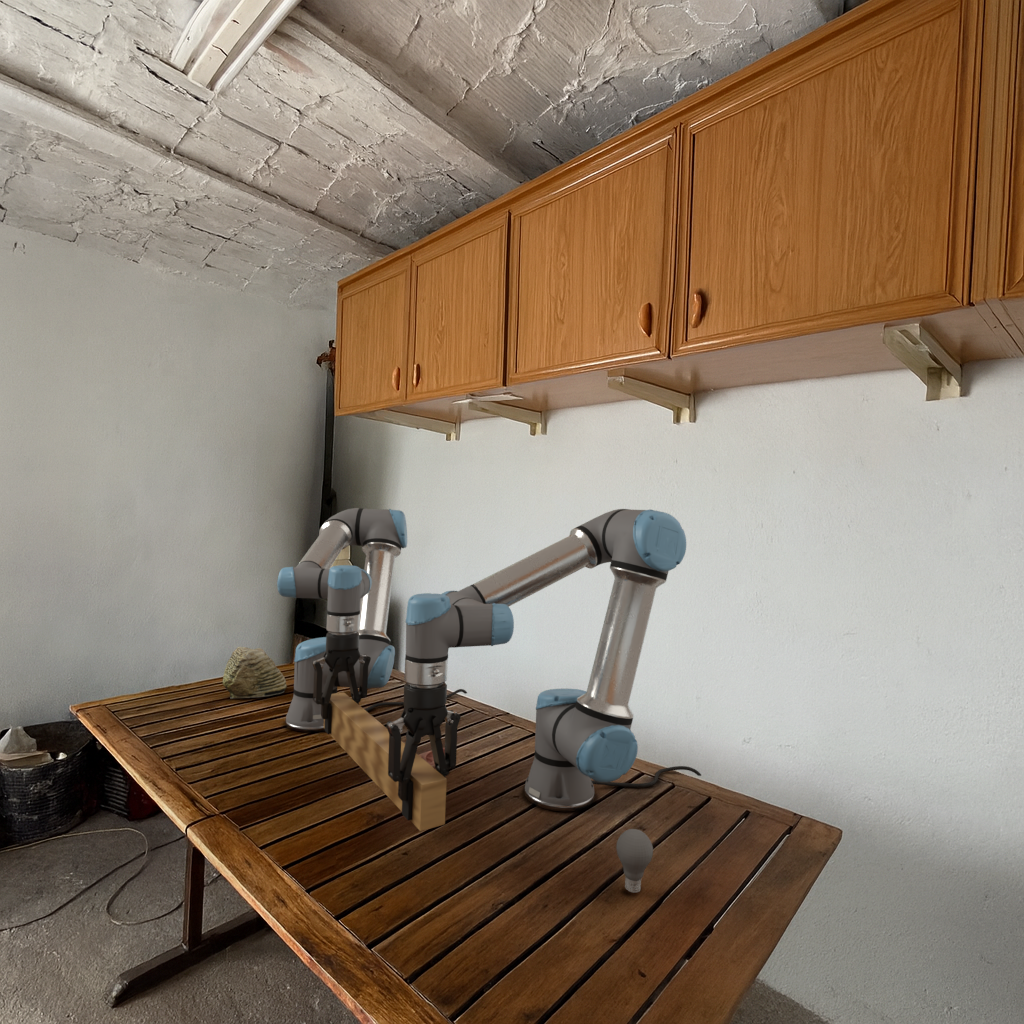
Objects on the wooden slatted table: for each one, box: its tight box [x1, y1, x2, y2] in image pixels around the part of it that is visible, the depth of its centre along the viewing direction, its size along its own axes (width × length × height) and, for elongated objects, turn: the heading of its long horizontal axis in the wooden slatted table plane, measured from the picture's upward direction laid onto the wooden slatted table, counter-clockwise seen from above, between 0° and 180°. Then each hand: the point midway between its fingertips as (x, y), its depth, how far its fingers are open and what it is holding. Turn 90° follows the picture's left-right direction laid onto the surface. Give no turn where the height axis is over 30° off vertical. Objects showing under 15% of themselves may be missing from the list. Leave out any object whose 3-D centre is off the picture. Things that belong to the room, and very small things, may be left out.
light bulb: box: [615, 828, 654, 894], centre depth 106 cm, size 6×6×10 cm
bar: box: [324, 691, 448, 832], centre depth 131 cm, size 54×5×8 cm, turn 34°
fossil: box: [222, 646, 288, 699], centre depth 198 cm, size 9×18×15 cm, turn 132°
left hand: (339, 729), depth 149 cm, fingers closed on bar, 5 cm apart
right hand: (421, 812), depth 112 cm, fingers closed on bar, 5 cm apart
